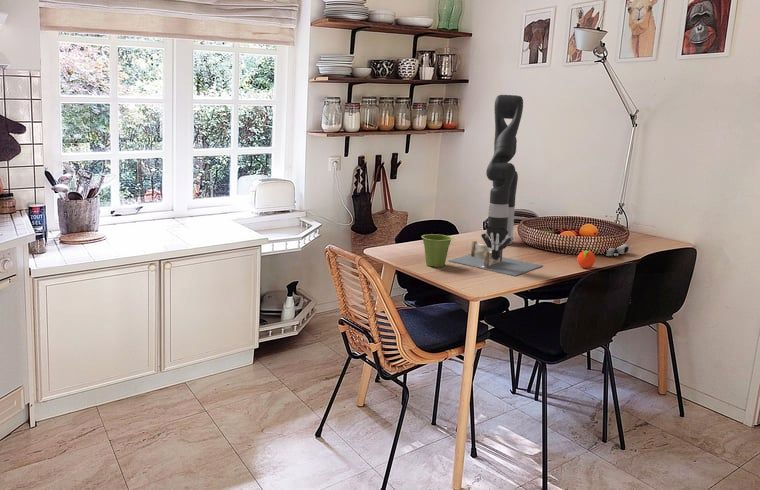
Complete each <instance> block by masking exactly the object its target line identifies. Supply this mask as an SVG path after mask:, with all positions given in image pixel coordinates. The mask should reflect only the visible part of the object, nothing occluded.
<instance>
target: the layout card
mask: <svg viewBox="0 0 760 490" xmlns="http://www.w3.org/2000/svg"><path fill="white" fill-rule="evenodd" d="M448 262H449V263H455V264H458V265H462V266H468V267H472V268H476V269H481V270H484V271H490V272H495V273H499V274H503V275H508V276H510V277H511V276H512V277H517V276H520V275H523V274H526V273H528V272H530V271H534V270H536V269H539V268H542V267H543V265H542V264H537V263H533V262H528V261H523V260H520V259H519V260H518V259H515V258H509V257H504V256H502V261H499V262H497V263H494V264H492V265H490V266H488V267H484V259H483V258H478V257H472V256H471V253H470V254H467V255H462V256H458V257H456V258H451V259H449V260H448Z"/></svg>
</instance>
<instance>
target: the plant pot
mask: <svg viewBox="0 0 760 490" xmlns="http://www.w3.org/2000/svg"><path fill="white" fill-rule="evenodd" d="M421 239H422V241H423V246H424V257H425V264H426V266H427V267H434V268H441V267H444V266H445V265H446V261H447V257H448V251H449V247H450V244H451V240H452V241H453V237H452V236H450V235H445V234H433V233H431V234H430V233H429V234H423V235H421Z"/></svg>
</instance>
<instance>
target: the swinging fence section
mask: <svg viewBox="0 0 760 490" xmlns="http://www.w3.org/2000/svg"><path fill="white" fill-rule="evenodd" d="M503 251H504V249H502V250H500V258H499V259H498V260H494V259H493V258H492V251H490V252H485V256H484V267H488V266H490V265H492V264H494V263H497V262H499V261H502V257H503Z"/></svg>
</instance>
